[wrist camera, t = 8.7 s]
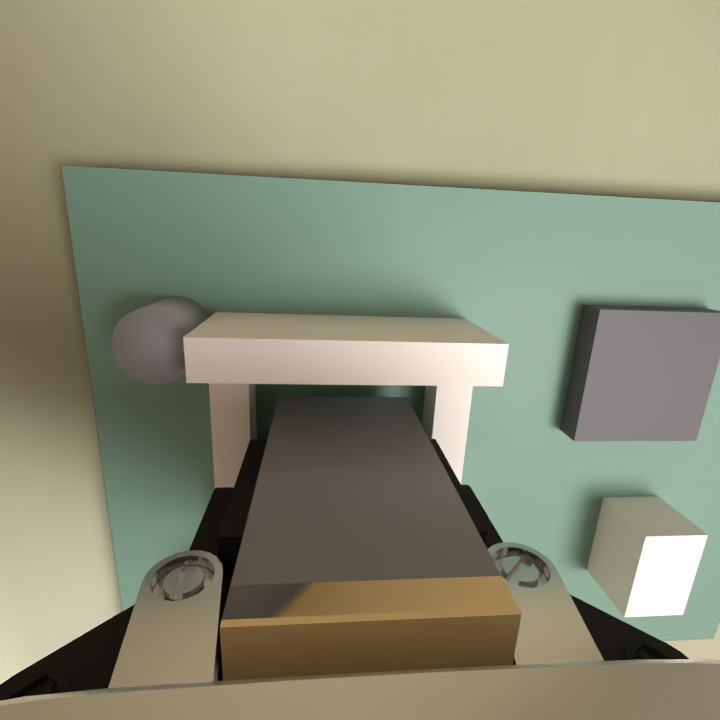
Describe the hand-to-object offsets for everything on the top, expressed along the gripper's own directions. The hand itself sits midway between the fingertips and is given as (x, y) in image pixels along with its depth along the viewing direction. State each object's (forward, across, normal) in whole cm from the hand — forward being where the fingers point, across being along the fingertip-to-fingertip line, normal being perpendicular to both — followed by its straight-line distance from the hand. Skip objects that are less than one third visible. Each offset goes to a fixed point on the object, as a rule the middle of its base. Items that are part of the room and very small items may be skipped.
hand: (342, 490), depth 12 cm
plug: (+1, 0, 0) cm, 1 cm away
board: (+3, -4, 0) cm, 5 cm away
